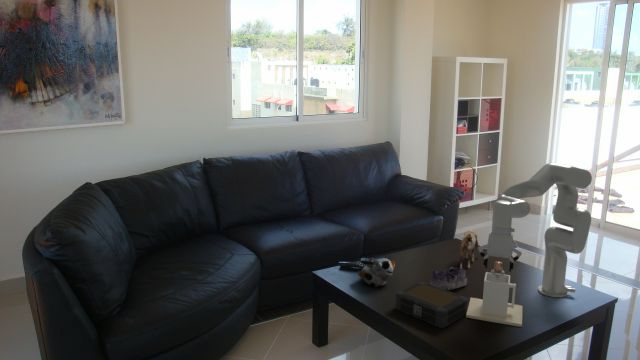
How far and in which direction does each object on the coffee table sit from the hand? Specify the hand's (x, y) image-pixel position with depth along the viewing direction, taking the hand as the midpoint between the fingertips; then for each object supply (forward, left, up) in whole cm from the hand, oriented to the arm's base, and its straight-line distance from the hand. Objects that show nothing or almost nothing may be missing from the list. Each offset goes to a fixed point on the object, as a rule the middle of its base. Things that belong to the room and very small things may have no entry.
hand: (498, 268), depth 214 cm
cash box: (+26, +9, -21) cm, 34 cm away
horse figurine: (+14, -54, -20) cm, 59 cm away
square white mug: (0, 0, -20) cm, 20 cm away
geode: (+23, -20, -20) cm, 37 cm away
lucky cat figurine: (+56, -13, -20) cm, 61 cm away
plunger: (0, 0, -18) cm, 18 cm away
